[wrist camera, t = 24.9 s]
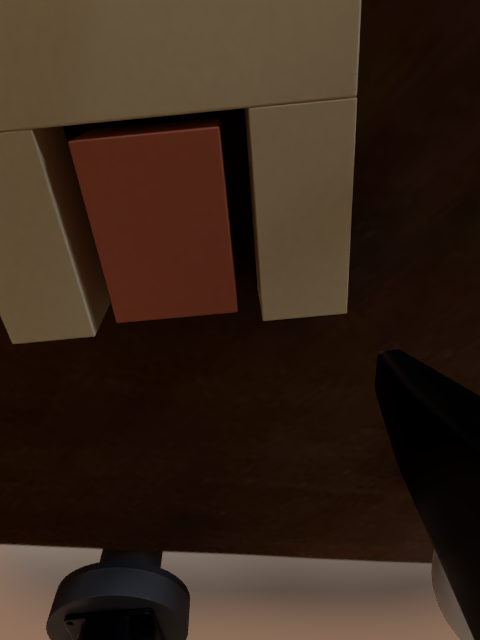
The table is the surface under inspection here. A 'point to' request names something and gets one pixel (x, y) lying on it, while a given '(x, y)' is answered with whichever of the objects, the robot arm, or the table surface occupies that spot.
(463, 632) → the light bulb
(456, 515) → the robot arm
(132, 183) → the reddish brown rectangular block
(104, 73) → the beige letter-shaped block
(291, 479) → the table surface
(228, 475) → the table surface
